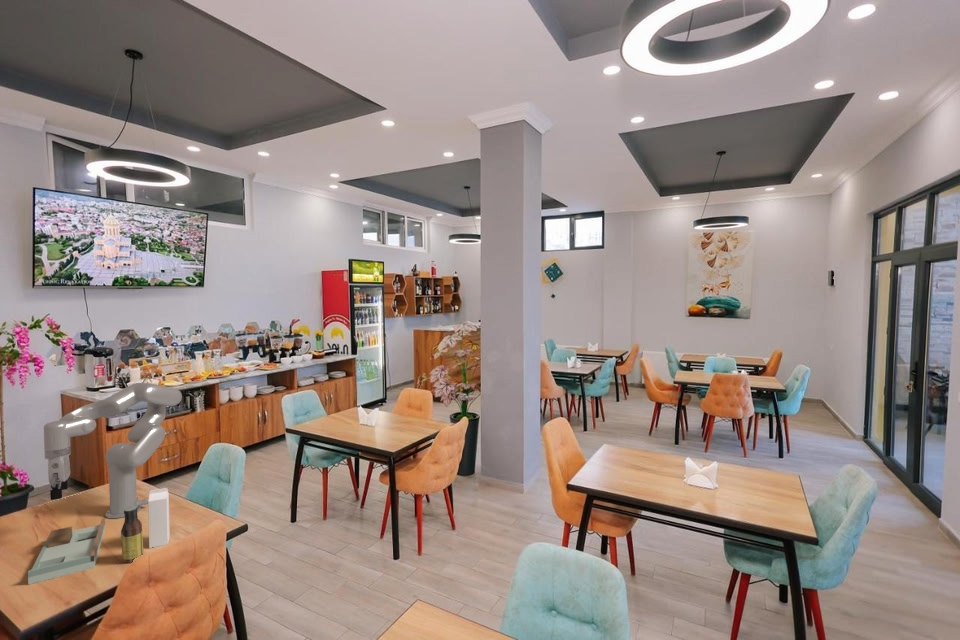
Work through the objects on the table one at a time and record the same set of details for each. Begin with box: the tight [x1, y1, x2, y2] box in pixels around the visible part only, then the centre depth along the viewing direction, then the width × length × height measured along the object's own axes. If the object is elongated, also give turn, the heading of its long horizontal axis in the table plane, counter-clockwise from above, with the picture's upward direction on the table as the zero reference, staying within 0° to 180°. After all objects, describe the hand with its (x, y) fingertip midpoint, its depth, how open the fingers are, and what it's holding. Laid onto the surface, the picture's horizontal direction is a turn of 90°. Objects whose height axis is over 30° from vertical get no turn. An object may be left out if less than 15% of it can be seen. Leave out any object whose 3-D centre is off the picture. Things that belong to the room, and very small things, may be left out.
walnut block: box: [47, 526, 73, 548], centre depth 171 cm, size 6×6×4 cm
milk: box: [147, 487, 171, 549], centre depth 176 cm, size 6×6×22 cm
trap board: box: [27, 517, 106, 586], centre depth 168 cm, size 17×32×5 cm, turn 35°
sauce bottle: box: [120, 506, 144, 564], centre depth 165 cm, size 7×6×20 cm
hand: (59, 494), depth 177 cm, fingers open, 9 cm apart
